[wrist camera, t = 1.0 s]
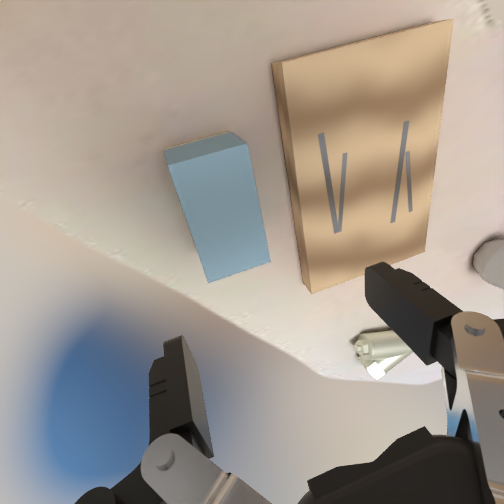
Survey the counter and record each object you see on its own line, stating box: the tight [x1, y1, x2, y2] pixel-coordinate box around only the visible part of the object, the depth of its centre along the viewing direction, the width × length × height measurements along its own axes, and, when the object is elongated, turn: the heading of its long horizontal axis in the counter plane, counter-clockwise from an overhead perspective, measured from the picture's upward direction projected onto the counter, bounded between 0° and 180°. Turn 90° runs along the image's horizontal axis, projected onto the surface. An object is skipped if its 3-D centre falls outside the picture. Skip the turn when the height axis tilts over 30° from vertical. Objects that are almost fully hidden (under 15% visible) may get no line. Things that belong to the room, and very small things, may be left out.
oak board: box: [271, 19, 454, 294], centre depth 27 cm, size 20×13×2 cm, turn 12°
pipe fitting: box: [354, 330, 413, 380], centre depth 40 cm, size 8×4×7 cm
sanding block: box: [163, 131, 271, 283], centre depth 23 cm, size 9×5×5 cm, turn 12°
